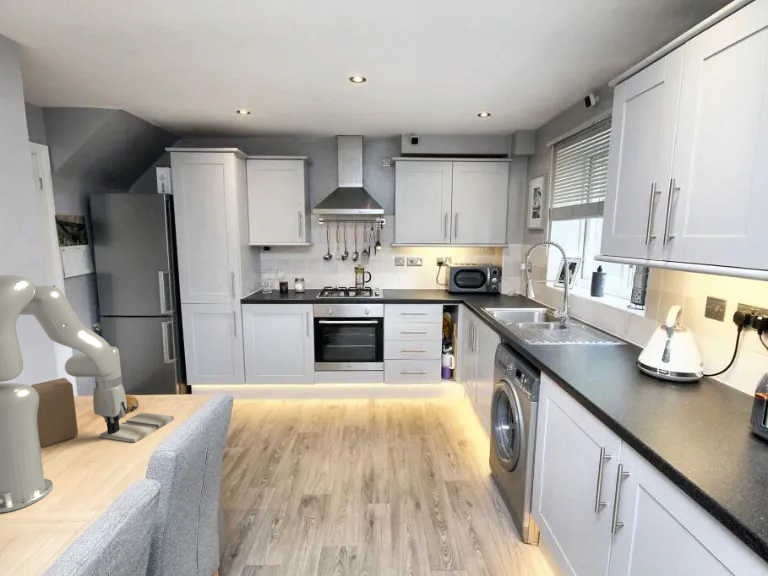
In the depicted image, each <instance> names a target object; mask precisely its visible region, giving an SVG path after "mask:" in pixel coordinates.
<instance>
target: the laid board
mask: <svg viewBox="0 0 768 576" xmlns="http://www.w3.org/2000/svg"><path fill="white" fill-rule="evenodd" d="M174 420H175V419H174V416H173V415H167V414H157V413H152V412H143V411H142V412H140V413H138V414H136V415H133V416H132V417H129V418H128V419H126V420H125V423H132V424H140V425H147V426H154V427H156V431H157V430H160V429H161V428H163V427H164V426H166V425H168V424H170V423H171V422H173V421H174Z"/></svg>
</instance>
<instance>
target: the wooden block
mask: <svg viewBox="0 0 768 576" xmlns="http://www.w3.org/2000/svg"><path fill="white" fill-rule="evenodd" d="M30 386H31V387H33V388H34V389H35V390H36V391H37V392H38V394H39V406H38V414H37V425H38V434H39V442H40V447H42V448H46V447H50V446H52V445H55V444H58V443H62V442H65V441H68V440H70V439H73V438H77V437H78V434H79V430H78V429H79V428H78V421H77V411H76V404H75V396H74V388H73V387H74V386H73V384H72V382H71V381H69V379H67V377H61V378H57V379H52V380H48V381H43V382H39V383H35V384H32V385H30Z"/></svg>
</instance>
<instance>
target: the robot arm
mask: <svg viewBox="0 0 768 576" xmlns="http://www.w3.org/2000/svg"><path fill="white" fill-rule="evenodd" d="M21 315H22V316H34V318H35V319H36V321H37V322H38V323H39V325H40V326H41V328H42V329H43V331H44V333H45V334H46V335H47V337H48V338H49V340H50V341H53V342H54V343H57V344H58V345H59V344H60V345H62V346H65V347H67V348H71V349H74V350H77V351H78V352H79V353H77V354H74V355H72V356H70V357H69V358H68V359H67V360H66V362H65V364H64V371H65V372H66V373H67V375H69V376H71V377H74V378H75V377H76V378H94V383H95V386H94V389H93V394H92V395H93V397H92V400H93V404H92V405H93V413H94V414H95V415H97V416H100V417H102V418H103V419H104V422H105V423H106V429H107V430H106V431H108V434H113V433H115V432H117V431H119V430H120V428H119V424H120V420H121V419H123V418H125V417H126V415H127V414H125V412H126V411H127V401H126V396H125V395H126V393H125V388H124V385H123V380H122V379H123V378H122V369H121V368H122V367H121V357H120V352H119V351H120V350H119V348H118V347H116V346H111V345H110V344H109V343H108V341H106V340H105V339H104V338H103V337H102V336H100V335H99V334H97V333H96V332H95V331H93V330H91V329H90V328H88V327H86V326H85V325H84V324H83V323H82V322H81V320H80V319H79V317H78V315H77V313H76V312H75V310H74V309H73V307H72V306H71V304H70V302H69V300H68V299H67V297H66V295H65V294H64V293H63V291H62V290H61V289H59V288H57V287H55V286H51V285H49V286H48V285H35V284H34V281H33V280H31V279H30V278H28V277H24V276H22V275H11V274H10V275H9V274H8V275H7V274H3V275H0V513H7V512H8V513H9V512H12V511H17V510H20V509H22V508H26V507H28V506H30V505H33V504H35V503H36V502H38V501H40V500H41V499H43V498H45V497H46V496H47V495H48V494H49V493H50V492H51V491H52V489H53V487H54V485H53V484H54V483H53V481H52V480H51V479H48V478H45V473H44V467H43V466H44V465H43V459H42V451H41V450H42V449H41V445H40V442H39V434H38V425H37V414H38V406H39V394H38V392H37V391H36V390H35V389H34V388H33V387H31V385H30V384H29V385H28V384H24V383H19V382H17V383H16V382H15V383H13V382H8V381H12V380H14V379H16V378H18V377H19V375H21V373H22V372H23V369H24V360H23V355H22V351H21V346H20V343H19V337H18V332H17V320H18V318H19V316H21ZM80 352H81V353H80Z"/></svg>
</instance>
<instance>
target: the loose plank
mask: <svg viewBox="0 0 768 576" xmlns="http://www.w3.org/2000/svg"><path fill="white" fill-rule="evenodd" d="M119 428H120V430H119V431H117V432H115V433H113V434H108V431H107V430H106V431H103V432H101V433H99V436H100V438H103V439H110V440H117V441H124V442H130V443H137V442H138V441H140V440H142V439H144V438H145V437H147V436H149V435H150V434H152V433H154V432H155V431H157V430H156V427H154V426H147V425H140V424H132V423H126V421H123V422H121V423H119Z"/></svg>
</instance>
